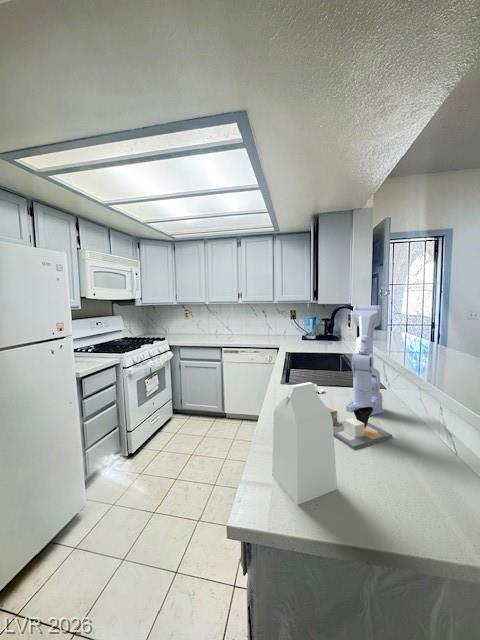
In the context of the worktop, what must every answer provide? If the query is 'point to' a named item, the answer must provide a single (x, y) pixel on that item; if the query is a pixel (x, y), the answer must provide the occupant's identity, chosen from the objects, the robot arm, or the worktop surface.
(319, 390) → the teacup and saucer
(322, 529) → the worktop surface
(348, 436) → the breaker panel
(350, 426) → the cream white cube
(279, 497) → the worktop surface
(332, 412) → the block
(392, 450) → the worktop surface
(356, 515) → the worktop surface
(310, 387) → the milk
